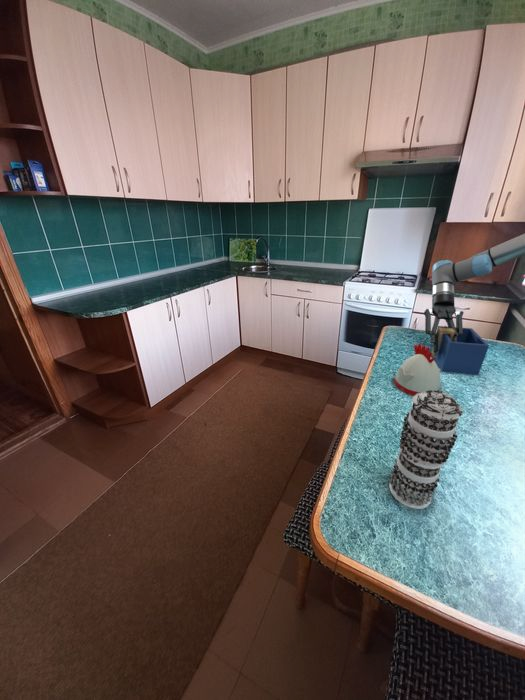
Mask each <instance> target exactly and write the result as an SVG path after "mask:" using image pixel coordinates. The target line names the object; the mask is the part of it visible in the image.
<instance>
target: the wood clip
mask: <svg viewBox="0 0 525 700" xmlns="http://www.w3.org/2000/svg"><path fill="white" fill-rule="evenodd" d="M437 329H438V331H436V332H437V334H438V348H439V344H440V341H441V337H442V334H448V336H449V338H450V339H451V340H452V339H453V336H454V333H455V331H454V330H453V329H452V328H437ZM431 350H432V352H433V349H432V348H431ZM436 355H437V352H436V353H432V355H431V356H432V357H434V356H435V357H436Z"/></svg>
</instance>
